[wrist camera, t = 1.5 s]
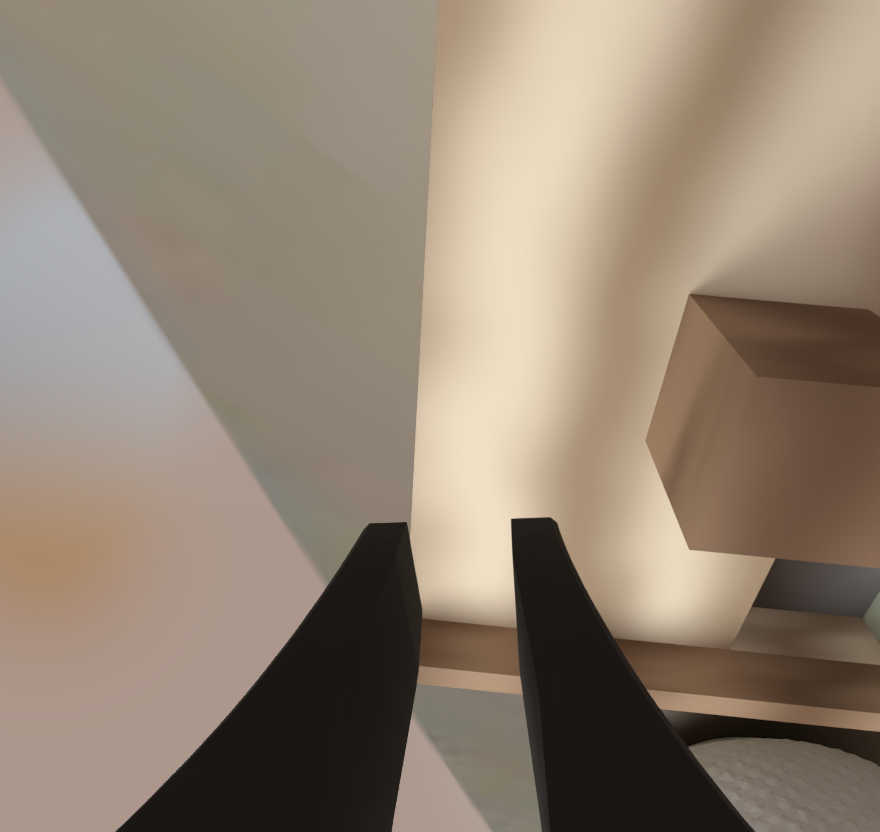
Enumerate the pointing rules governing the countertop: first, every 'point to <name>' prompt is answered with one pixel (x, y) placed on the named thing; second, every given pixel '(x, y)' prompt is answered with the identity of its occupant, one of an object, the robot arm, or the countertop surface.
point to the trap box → (633, 324)
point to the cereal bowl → (794, 784)
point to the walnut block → (773, 430)
